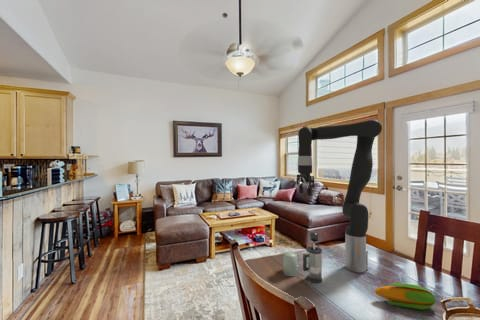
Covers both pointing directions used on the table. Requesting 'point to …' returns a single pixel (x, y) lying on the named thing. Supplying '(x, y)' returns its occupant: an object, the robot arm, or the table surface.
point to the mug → (290, 263)
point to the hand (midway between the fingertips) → (305, 194)
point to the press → (313, 264)
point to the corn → (407, 295)
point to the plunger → (313, 238)
